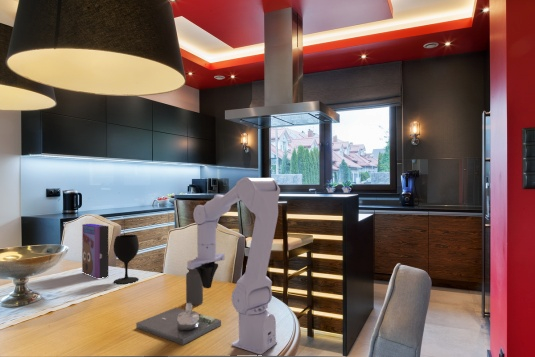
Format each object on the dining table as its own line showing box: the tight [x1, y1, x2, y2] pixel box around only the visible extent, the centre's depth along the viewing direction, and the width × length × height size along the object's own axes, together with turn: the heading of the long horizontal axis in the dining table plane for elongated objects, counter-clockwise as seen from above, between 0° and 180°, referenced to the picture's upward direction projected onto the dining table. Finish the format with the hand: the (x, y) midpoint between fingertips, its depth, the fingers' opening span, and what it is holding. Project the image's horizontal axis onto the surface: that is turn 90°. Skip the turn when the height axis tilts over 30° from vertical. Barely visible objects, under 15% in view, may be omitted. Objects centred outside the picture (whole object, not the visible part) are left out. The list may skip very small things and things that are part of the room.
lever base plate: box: [135, 307, 222, 346], centre depth 100 cm, size 20×15×2 cm
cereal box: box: [81, 223, 109, 279], centre depth 160 cm, size 17×5×24 cm, turn 50°
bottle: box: [185, 259, 204, 307], centre depth 120 cm, size 6×6×15 cm
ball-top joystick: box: [177, 303, 200, 330], centre depth 100 cm, size 12×6×4 cm, turn 12°
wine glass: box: [113, 234, 140, 285], centre depth 150 cm, size 10×10×20 cm
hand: (207, 287), depth 104 cm, fingers closed
